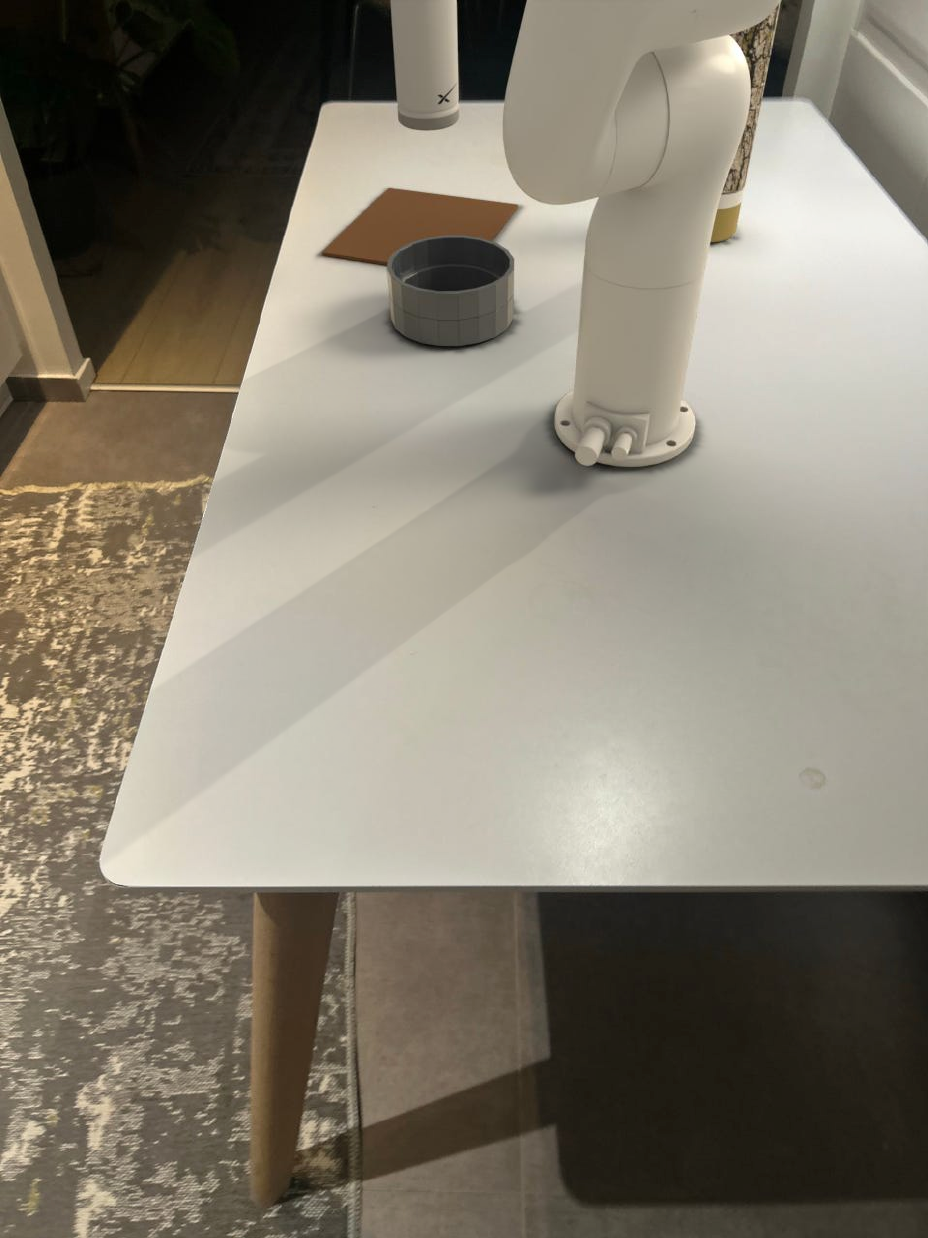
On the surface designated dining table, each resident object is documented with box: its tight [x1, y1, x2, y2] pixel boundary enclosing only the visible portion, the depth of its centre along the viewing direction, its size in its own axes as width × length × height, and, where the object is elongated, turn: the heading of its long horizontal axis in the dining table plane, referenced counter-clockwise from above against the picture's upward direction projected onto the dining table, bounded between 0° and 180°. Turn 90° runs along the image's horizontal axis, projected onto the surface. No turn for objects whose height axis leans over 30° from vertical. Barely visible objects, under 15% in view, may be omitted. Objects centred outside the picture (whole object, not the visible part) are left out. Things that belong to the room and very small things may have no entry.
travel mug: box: [390, 0, 460, 132], centre depth 87 cm, size 6×7×20 cm
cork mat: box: [321, 187, 519, 266], centre depth 113 cm, size 20×18×1 cm
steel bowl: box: [386, 235, 515, 347], centre depth 96 cm, size 13×13×6 cm
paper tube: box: [710, 0, 782, 243], centre depth 102 cm, size 7×7×25 cm
